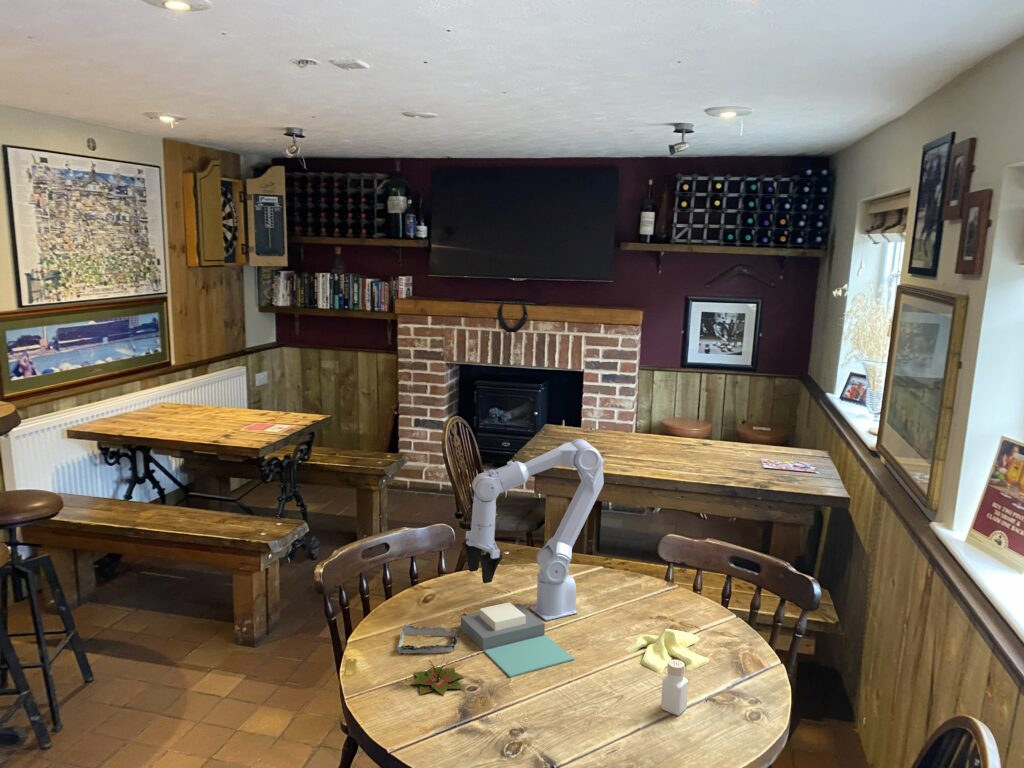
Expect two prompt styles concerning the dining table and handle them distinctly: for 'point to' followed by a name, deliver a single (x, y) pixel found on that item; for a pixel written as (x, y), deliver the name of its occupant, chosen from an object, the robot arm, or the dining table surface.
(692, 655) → the cloth
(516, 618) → the coaster
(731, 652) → the dining table surface
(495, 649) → the drip mat
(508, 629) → the riser
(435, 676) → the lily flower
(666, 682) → the pepper shaker
